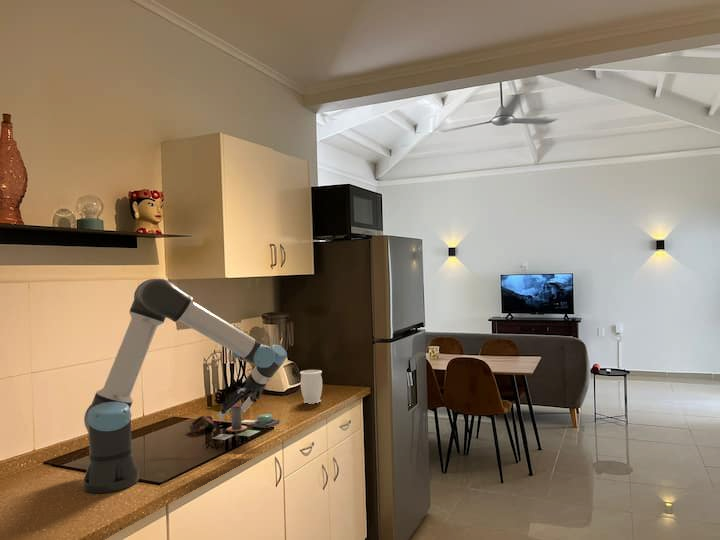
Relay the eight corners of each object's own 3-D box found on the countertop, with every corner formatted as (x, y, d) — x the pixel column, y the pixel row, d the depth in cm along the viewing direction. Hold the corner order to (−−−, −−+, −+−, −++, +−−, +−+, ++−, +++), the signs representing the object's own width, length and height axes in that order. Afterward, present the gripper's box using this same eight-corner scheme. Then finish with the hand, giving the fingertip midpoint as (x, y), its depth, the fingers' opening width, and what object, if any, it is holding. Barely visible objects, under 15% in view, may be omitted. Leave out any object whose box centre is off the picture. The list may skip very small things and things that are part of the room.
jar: (297, 404, 256) (296, 372, 256) (307, 399, 265) (306, 369, 265) (316, 405, 251) (315, 373, 252) (326, 400, 261) (325, 369, 261)
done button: (267, 423, 212) (266, 418, 212) (254, 422, 215) (254, 417, 215) (275, 419, 218) (275, 414, 218) (263, 418, 220) (262, 413, 220)
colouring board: (238, 447, 192) (237, 440, 192) (198, 443, 199) (198, 436, 199) (281, 425, 218) (281, 419, 218) (245, 422, 226) (245, 416, 226)
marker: (240, 429, 210) (239, 399, 210) (230, 429, 210) (229, 399, 210) (243, 426, 214) (242, 396, 214) (233, 427, 214) (232, 397, 214)
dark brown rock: (215, 438, 206) (203, 421, 204) (195, 449, 207) (183, 432, 206) (223, 422, 218) (212, 406, 216) (204, 432, 219) (193, 416, 217)
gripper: (242, 391, 194) (213, 428, 202) (284, 379, 215) (257, 413, 222) (231, 375, 197) (203, 413, 205) (274, 365, 218) (247, 399, 225)
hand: (231, 413), depth 214 cm, fingers open, 12 cm apart
